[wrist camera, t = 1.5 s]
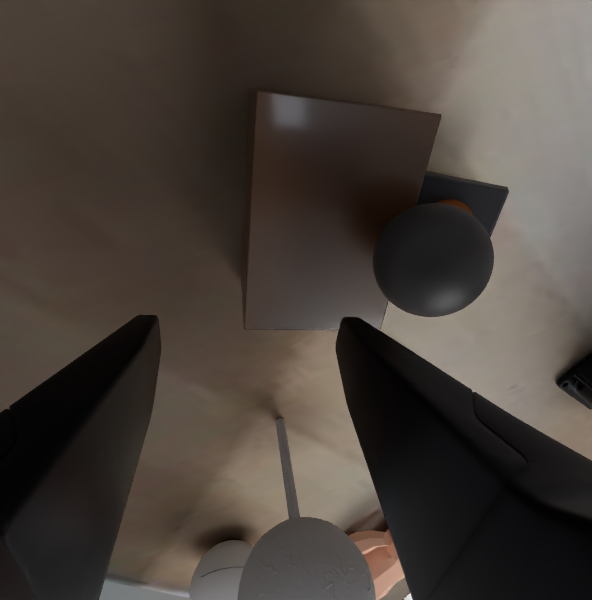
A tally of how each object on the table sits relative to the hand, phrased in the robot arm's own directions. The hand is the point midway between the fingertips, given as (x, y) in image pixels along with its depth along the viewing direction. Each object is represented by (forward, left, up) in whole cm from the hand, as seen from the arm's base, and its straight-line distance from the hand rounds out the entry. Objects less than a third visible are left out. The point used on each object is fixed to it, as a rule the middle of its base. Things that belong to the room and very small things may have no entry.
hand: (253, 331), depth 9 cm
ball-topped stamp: (-8, -5, -12) cm, 15 cm away
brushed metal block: (-3, -2, -12) cm, 13 cm away
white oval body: (-18, +29, -12) cm, 36 cm away
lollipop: (-12, +13, -12) cm, 21 cm away
